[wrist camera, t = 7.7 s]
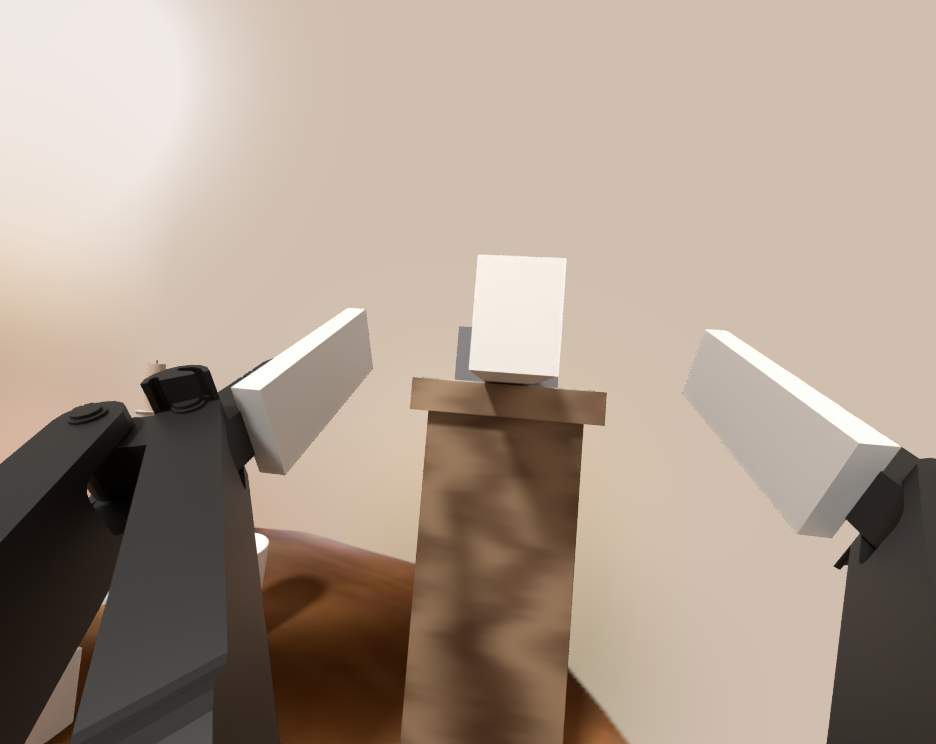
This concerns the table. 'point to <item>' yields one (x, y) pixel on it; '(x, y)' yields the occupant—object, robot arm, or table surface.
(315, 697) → the table surface
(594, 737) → the table surface
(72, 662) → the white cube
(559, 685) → the tall stand
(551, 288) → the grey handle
